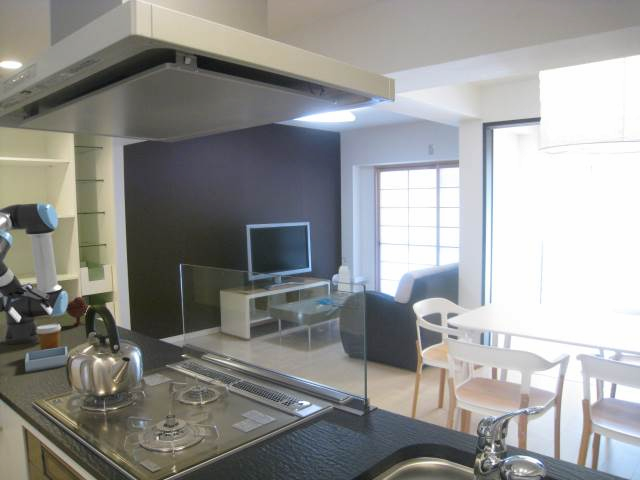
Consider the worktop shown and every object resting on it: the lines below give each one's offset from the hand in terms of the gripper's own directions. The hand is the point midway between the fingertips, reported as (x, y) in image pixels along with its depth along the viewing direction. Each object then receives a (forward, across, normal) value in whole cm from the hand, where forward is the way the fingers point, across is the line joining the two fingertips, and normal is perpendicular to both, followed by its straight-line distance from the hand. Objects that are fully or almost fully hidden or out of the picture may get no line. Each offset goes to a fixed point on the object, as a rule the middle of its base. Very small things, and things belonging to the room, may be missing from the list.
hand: (35, 316), depth 208 cm
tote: (+10, +5, -18) cm, 21 cm away
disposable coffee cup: (+18, -2, -6) cm, 19 cm away
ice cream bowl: (+46, -14, +37) cm, 61 cm away
